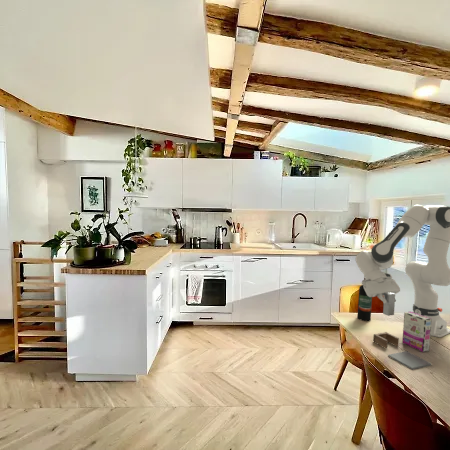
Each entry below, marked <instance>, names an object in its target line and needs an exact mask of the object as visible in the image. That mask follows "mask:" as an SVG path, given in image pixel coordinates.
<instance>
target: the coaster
mask: <svg viewBox="0 0 450 450" xmlns="http://www.w3.org/2000/svg"><path fill="white" fill-rule="evenodd" d="M387 355H388V356H387V357H389V356H390V357H391V359H392V358H393V359H392V360H394V361H396V362H397V361H398V362H397V363H400V365H403V366H404V367H407V368H409V369H411V370H417V369H418V370H419V369H421V368H425V367H426V368H427V367H429V366H432V363H431V362H429V361H427V360H426V359H423V358H421V357H419V356H417V355H416V354H414V353H412V352H409V351H407V350H404V351H400V352H395V353H391V354H387ZM390 357H389V358H390Z"/></svg>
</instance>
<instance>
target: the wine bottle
mask: <svg viewBox="0 0 450 450" xmlns="http://www.w3.org/2000/svg"><path fill="white" fill-rule="evenodd" d="M363 280H366V279H365V277H364V276H363ZM372 304H373V297H369V296H367V294H366V292H365V290H364V287H363V284H361V285H360V286H359V288H358V301H357V317H356V318H357V320H360V321H362V322H370V321H371V320H372V319H371V318H372V316H371V315H372Z"/></svg>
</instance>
